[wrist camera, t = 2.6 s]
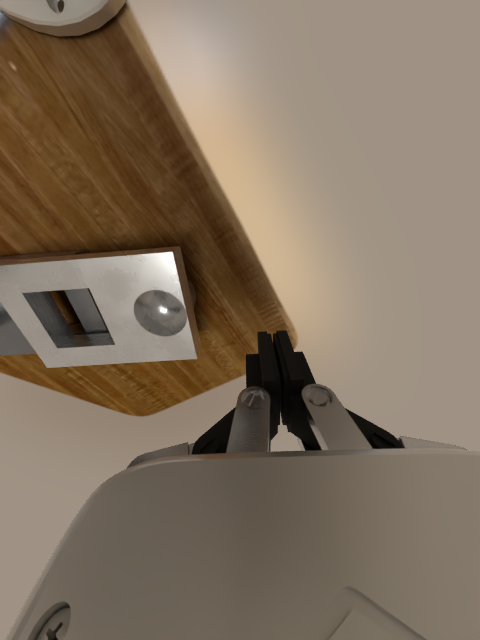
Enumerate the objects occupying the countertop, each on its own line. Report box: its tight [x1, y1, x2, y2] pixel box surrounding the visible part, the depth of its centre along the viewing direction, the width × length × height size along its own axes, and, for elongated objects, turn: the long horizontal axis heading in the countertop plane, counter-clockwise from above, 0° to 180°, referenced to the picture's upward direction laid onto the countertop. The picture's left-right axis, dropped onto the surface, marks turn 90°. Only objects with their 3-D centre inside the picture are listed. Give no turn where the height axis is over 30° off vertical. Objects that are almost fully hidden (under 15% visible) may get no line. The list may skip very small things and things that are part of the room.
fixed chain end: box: [0, 249, 110, 356], centre depth 18 cm, size 14×9×4 cm, turn 94°
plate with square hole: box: [0, 246, 201, 368], centre depth 18 cm, size 14×9×4 cm, turn 94°
